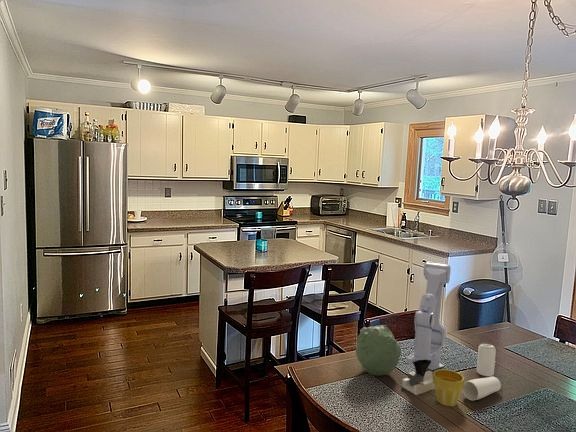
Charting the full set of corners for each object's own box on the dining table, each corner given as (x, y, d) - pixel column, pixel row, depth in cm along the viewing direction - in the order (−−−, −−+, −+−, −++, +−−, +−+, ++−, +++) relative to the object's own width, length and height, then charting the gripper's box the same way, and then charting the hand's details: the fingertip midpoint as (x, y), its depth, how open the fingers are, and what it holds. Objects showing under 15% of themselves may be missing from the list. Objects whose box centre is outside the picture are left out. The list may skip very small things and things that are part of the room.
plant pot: (434, 391, 165) (436, 366, 164) (464, 399, 160) (466, 373, 158) (428, 403, 156) (430, 377, 155) (459, 412, 151) (461, 385, 150)
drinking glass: (500, 396, 165) (475, 405, 157) (484, 385, 170) (459, 392, 162) (505, 381, 163) (481, 388, 155) (489, 370, 169) (465, 377, 160)
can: (495, 378, 177) (498, 349, 176) (478, 375, 178) (480, 347, 177) (491, 370, 183) (494, 343, 182) (474, 368, 185) (477, 341, 183)
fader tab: (406, 383, 167) (407, 372, 166) (412, 381, 168) (413, 371, 168) (417, 389, 163) (417, 378, 162) (422, 387, 164) (423, 376, 164)
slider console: (402, 386, 167) (402, 379, 167) (428, 377, 175) (429, 370, 175) (416, 395, 161) (417, 387, 161) (443, 385, 169) (444, 377, 169)
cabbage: (408, 376, 175) (411, 328, 173) (372, 388, 165) (376, 336, 163) (380, 361, 189) (383, 315, 186) (345, 370, 178) (348, 323, 176)
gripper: (417, 350, 158) (415, 386, 159) (444, 343, 166) (441, 377, 167) (402, 343, 164) (400, 378, 165) (429, 336, 172) (426, 370, 173)
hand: (420, 377), depth 167 cm, fingers closed
